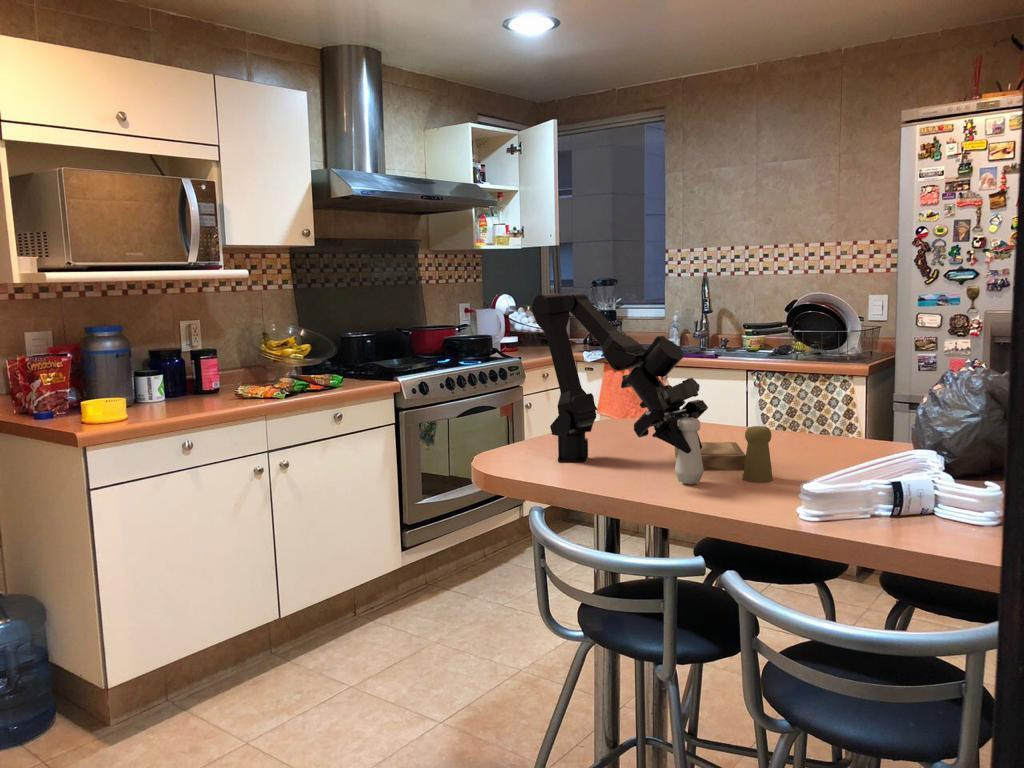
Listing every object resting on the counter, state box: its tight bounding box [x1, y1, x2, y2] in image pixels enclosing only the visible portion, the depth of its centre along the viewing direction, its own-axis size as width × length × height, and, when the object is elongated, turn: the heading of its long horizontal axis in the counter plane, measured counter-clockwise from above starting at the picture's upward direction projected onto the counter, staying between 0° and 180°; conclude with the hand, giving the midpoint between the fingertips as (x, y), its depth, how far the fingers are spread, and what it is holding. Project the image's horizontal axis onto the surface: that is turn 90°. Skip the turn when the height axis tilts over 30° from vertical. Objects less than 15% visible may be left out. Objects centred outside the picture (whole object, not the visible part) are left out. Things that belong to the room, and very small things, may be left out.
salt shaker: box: [674, 418, 705, 485], centre depth 165 cm, size 6×6×13 cm
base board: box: [674, 441, 746, 471], centre depth 184 cm, size 14×14×3 cm
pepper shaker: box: [742, 425, 774, 484], centre depth 167 cm, size 6×6×11 cm
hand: (695, 450), depth 164 cm, fingers closed on salt shaker, 3 cm apart
